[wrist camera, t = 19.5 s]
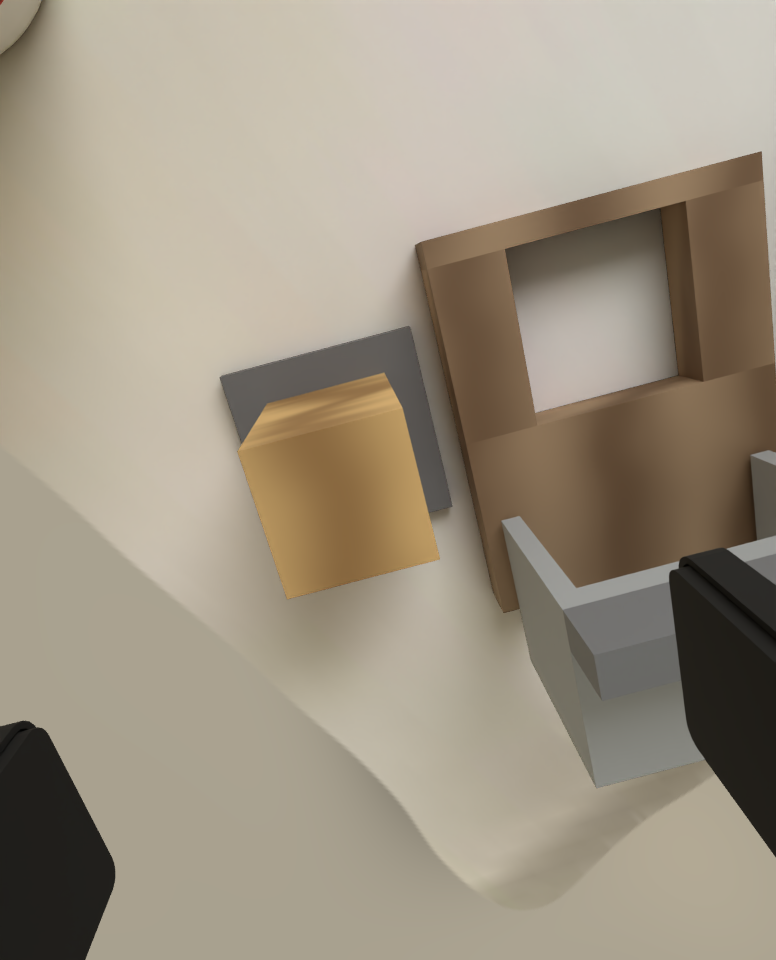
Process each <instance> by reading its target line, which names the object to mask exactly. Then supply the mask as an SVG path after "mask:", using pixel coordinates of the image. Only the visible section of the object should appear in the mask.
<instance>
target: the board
mask: <svg viewBox="0 0 776 960" xmlns="http://www.w3.org/2000/svg"><path fill="white" fill-rule="evenodd" d="M657 208H660V212H661V221H662V230H663V239H664V248H665V257H666V266H667V275H668V284H669V293H670V302H671V311H672V320H673V329H674V338H675V347H676V356H677V365H678V374H679V375H678V376H674V377H670V378H667V379H663V380H659V381H655V382H651V383H648V384H644V385H640V386H636V387H633V388H629V389H625V390H621V391H617V392H614V393H610V394H606V395H602V396H599V397H595V398H591V399H587V400H583V401H580V402H576V403H572V404H568V405H564V406H561V407H557V408H553V409H549V410H546V411H542V412H538V413H535V410H534V405H533V399H532V394H531V388H530V383H529V377H528V372H527V367H526V361H525V356H524V350H523V345H522V339H521V334H520V329H519V323H518V318H517V312H516V307H515V301H514V296H513V291H512V285H511V280H510V274H509V269H508V263H507V258H506V253H505V249H506V248H510V247H514V246H518V245H521V244H525V243H529V242H533V241H536V240H540V239H544V238H548V237H551V236H555V235H559V234H563V233H566V232H570V231H574V230H578V229H581V228H585V227H589V226H593V225H597V224H600V223H604V222H608V221H612V220H615V219H619V218H623V217H627V216H630V215H634V214H638V213H642V212H645V211H649V210H653V209H657ZM415 247H416V251H417V255H418V260H419V264H420V269H421V273H422V278H423V282H424V287H425V291H426V296H427V300H428V304H429V309H430V313H431V318H432V322H433V327H434V331H435V336H436V340H437V344H438V349H439V353H440V358H441V362H442V367H443V371H444V376H445V380H446V384H447V389H448V393H449V398H450V402H451V407H452V411H453V416H454V420H455V424H456V429H457V433H458V438H459V442H460V447H461V451H462V456H463V460H464V465H465V469H466V473H467V478H468V482H469V487H470V491H471V496H472V500H473V505H474V509H475V513H476V518H477V522H478V527H479V531H480V536H481V540H482V545H483V549H484V553H485V558H486V562H487V567H488V571H489V576H490V580H491V585H492V589H493V593H494V595H495V597H496V599H497V601H498V603H499V605H500V607H501V609H502V611H503V613H506V612H510V611H513V610H517V609H520V607H519V602H518V598H517V593H516V588H515V583H514V579H513V574H512V569H511V565H510V560H509V555H508V550H507V546H506V541H505V536H504V532H503V527H502V522H501V521H502V520H506V519H510V518H513V517H517V516H520V517H521V518H522V520H523V521H524V522H525V523H526V525H527V526H528V527H529V528H530V530H531V531H532V532H533V534H534V535H535V536H536V537H537V539H538V540H539V541H540V543H541V544H542V545H543V546H544V548H545V549H546V550H547V551H548V553H549V554H550V555H551V557H552V558H553V559H554V560H555V562H556V563H557V564H558V565H559V567H560V568H561V569H562V571H563V572H564V573H565V574H566V576H567V577H568V578H569V579H570V581H571V582H572V583H573V585H574V586H575V587H576V588H579V587H583V586H587V585H590V584H594V583H598V582H602V581H606V580H609V579H613V578H617V577H621V576H624V575H628V574H632V573H636V572H640V571H643V570H647V569H651V568H655V567H659V566H662V565H666V564H670V563H674V562H678V561H680V559H681V558H682V557H684V556H688V555H692V554H696V553H700V552H704V551H708V550H712V549H716V548H725V549H727V548H731V547H735V546H738V545H742V544H746V543H750V542H754V541H757V533H756V520H755V508H754V495H753V483H752V470H751V457H750V455H752V454H756V453H760V452H764V451H767V450H770V451H772V452H775V453H776V370H775V354H774V339H773V323H772V307H771V292H770V276H769V260H768V245H767V229H766V213H765V198H764V182H763V166H762V151H761V152H757V153H754V154H750V155H746V156H742V157H738V158H735V159H731V160H727V161H723V162H720V163H716V164H712V165H708V166H705V167H701V168H697V169H693V170H690V171H686V172H682V173H678V174H675V175H671V176H667V177H663V178H660V179H656V180H652V181H648V182H644V183H641V184H637V185H633V186H629V187H626V188H622V189H618V190H614V191H611V192H607V193H603V194H599V195H596V196H592V197H588V198H584V199H581V200H577V201H573V202H569V203H566V204H562V205H558V206H554V207H550V208H547V209H543V210H539V211H535V212H532V213H528V214H524V215H520V216H517V217H513V218H509V219H505V220H502V221H498V222H494V223H490V224H487V225H483V226H479V227H475V228H472V229H468V230H464V231H460V232H457V233H453V234H449V235H445V236H441V237H438V238H434V239H430V240H426V241H423V242H420V243H418V244H416V245H415Z"/></svg>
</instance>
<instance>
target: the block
mask: <svg viewBox="0 0 776 960" xmlns="http://www.w3.org/2000/svg"><path fill="white" fill-rule="evenodd" d="M237 452H238V455H239V458H240V460H241V463H242V466H243V469H244V472H245V475H246V478H247V481H248V484H249V487H250V490H251V493H252V496H253V499H254V502H255V505H256V508H257V511H258V514H259V517H260V520H261V523H262V526H263V529H264V532H265V535H266V538H267V541H268V544H269V547H270V550H271V553H272V556H273V559H274V562H275V565H276V568H277V571H278V573H279V576H280V579H281V582H282V585H283V588H284V591H285V594H286V597H287V599H290V598H294V597H298V596H302V595H306V594H309V593H313V592H317V591H321V590H325V589H328V588H332V587H336V586H340V585H344V584H348V583H351V582H355V581H359V580H363V579H367V578H370V577H374V576H378V575H382V574H386V573H389V572H393V571H397V570H401V569H405V568H409V567H412V566H416V565H420V564H424V563H428V562H431V561H435V560H439V559H440V557H439V553H438V549H437V545H436V541H435V537H434V533H433V529H432V525H431V521H430V517H429V513H428V509H427V505H426V501H425V497H424V493H423V489H422V485H421V481H420V476H419V472H418V468H417V464H416V460H415V456H414V452H413V448H412V444H411V440H410V436H409V432H408V428H407V424H406V420H405V416H404V412H403V408H402V406H401V404H400V402H399V400H398V398H397V396H396V394H395V392H394V391H393V389H392V387H391V385H390V383H389V381H388V379H387V377H386V375H385V373H381V374H377V375H373V376H370V377H366V378H362V379H358V380H355V381H351V382H347V383H343V384H339V385H336V386H332V387H328V388H324V389H320V390H317V391H313V392H309V393H305V394H301V395H298V396H294V397H290V398H286V399H282V400H279V401H275V402H271V403H267V405H266V406H265V408H264V410H263V411H262V413H261V414H260V416H259V418H258V419H257V421H256V422H255V424H254V426H253V427H252V429H251V431H250V432H249V434H248V435H247V437H246V439H245V440H244V442H243V443H242V445H241V447H240V448H239V450H238V451H237Z"/></svg>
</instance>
